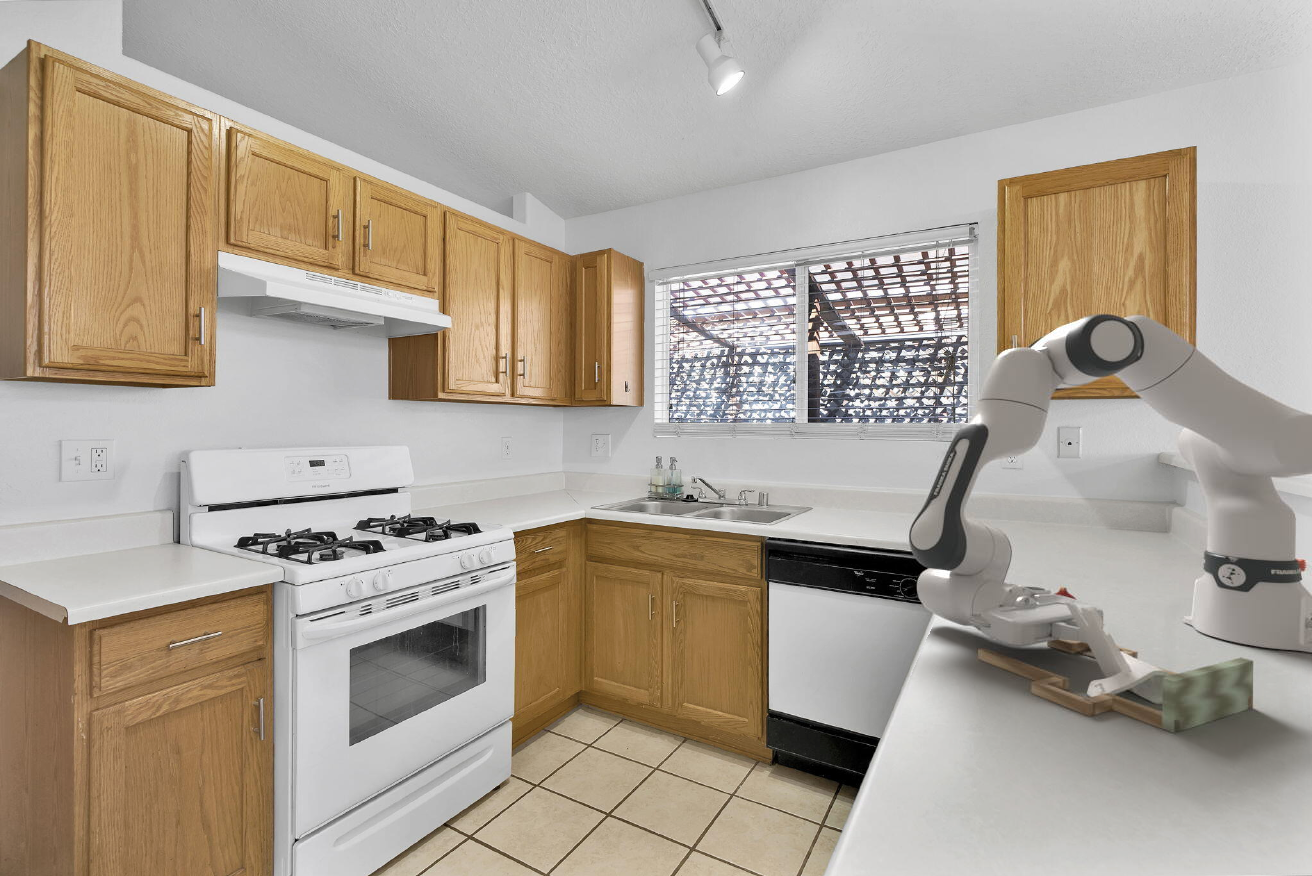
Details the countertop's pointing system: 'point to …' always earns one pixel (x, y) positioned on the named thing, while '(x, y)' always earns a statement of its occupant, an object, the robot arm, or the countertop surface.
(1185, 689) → the trap lane
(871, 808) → the countertop surface
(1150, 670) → the plastic part
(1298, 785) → the countertop surface
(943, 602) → the robot arm
